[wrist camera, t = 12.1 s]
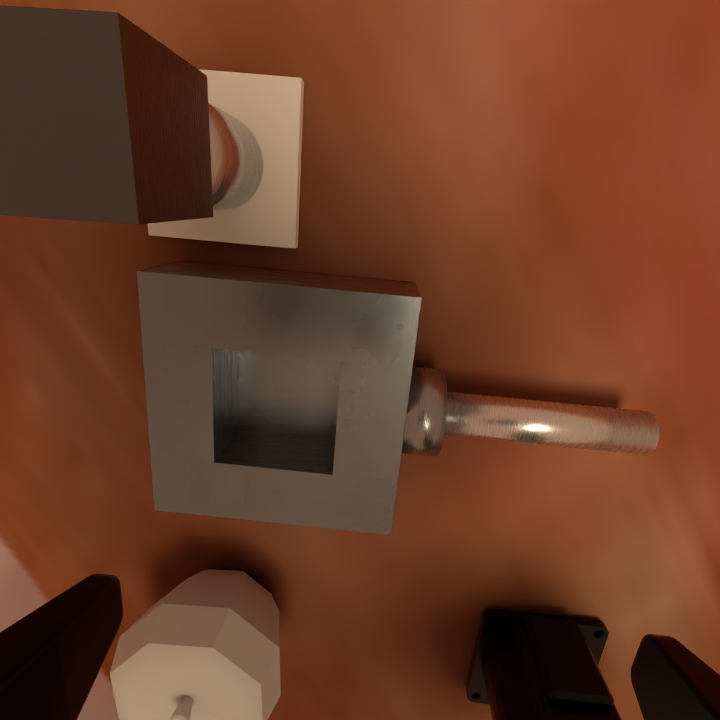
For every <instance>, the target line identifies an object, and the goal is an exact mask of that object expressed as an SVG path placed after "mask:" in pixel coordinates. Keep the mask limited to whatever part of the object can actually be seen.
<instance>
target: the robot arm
mask: <svg viewBox="0 0 720 720" xmlns="http://www.w3.org/2000/svg"><path fill="white" fill-rule="evenodd" d="M122 617H123V605H122V596H121V587H120V580H119V579H118V577H117V576H114V575H105V574H93V575H90V576H88V577H87V578H85V579H84V580H82V581H80V582H79V583H77V584H76V585H74V586H73V587H71V588H69V589H68V590H66V591H65V592H63V593H61V594H60V595H58V596H57V597H55V598H54V599H52V600H50V601H49V602H47V603H46V604H44V605H43V606H41V607H39V608H38V609H36V610H35V611H33V612H32V613H30V614H28V615H27V616H25V617H24V618H22V619H21V620H19V621H17V622H16V623H14V624H13V625H11V626H9V627H8V628H6V629H5V630H3V631H2V632H0V720H77V718H78V716H79V714H80V712H81V709H82V708H83V705H84V703H85V701H86V699H87V697H88V694H89V692H90V690H91V688H92V686H93V684H94V682H95V679H96V677H97V675H98V673H99V671H100V669H101V666H102V664H103V662H104V660H105V658H106V656H107V653H108V651H109V649H110V647H111V645H112V643H113V640H114V638H115V636H116V634H117V632H118V630H119V627H120V625H121V622H122ZM491 619H494V620H491ZM608 633H609V632H608V630H607V628H606V626H605V625H604V623H603V622H602V621H599V620H591V619H582V618H573V617H564V616H554V615H545V614H536V613H527V612H518V611H508V610H499V609H489V610H486V611H485V612H484V613H483V615H482V620H481V624H480V628H479V633H478V637H477V642H476V646H475V651H474V655H473V660H472V664H471V668H470V673H469V677H468V682H467V686H466V692H467V698H468V699H469V700H470V701H472V702H476V703H485V704H489V705H490V709H491V714H492V719H493V720H621V718H620V715H619V713H618V711H617V709H616V707H615V705H614V700H613V697H612V695H611V692H610V690H609V688H608V686H607V684H606V682H605V680H604V678H603V676H602V673H601V671H600V669H599V667H598V663H599V660H600V658H601V655H602V652H603V649H604V646H605V643H606V640H607V637H608ZM631 680H632V685H633V688H634V691H635V694H636V697H637V700H638V703H639V706H640V709H641V712H642V715H643V718H644V720H720V675H719V674H718V673H716V672H715V671H714V670H713V669H712V668H710V667H709V666H708V665H707V664H705V663H704V662H703V661H702V660H701V659H699V658H698V657H697V656H696V655H695V654H693V653H692V652H691V651H690V650H688V649H687V648H686V647H685V646H684V645H682V644H681V643H680V642H679V641H677V640H676V639H674V638H672V637H669V636H663V635H654V634H647V635H646V636H644V637H643V639H642V641H641V643H640V646H639V649H638V651H637V654H636V656H635V659H634V662H633V664H632V667H631Z"/></svg>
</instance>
